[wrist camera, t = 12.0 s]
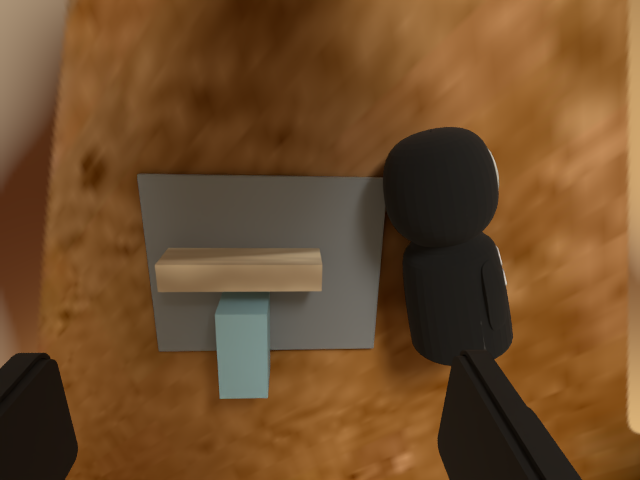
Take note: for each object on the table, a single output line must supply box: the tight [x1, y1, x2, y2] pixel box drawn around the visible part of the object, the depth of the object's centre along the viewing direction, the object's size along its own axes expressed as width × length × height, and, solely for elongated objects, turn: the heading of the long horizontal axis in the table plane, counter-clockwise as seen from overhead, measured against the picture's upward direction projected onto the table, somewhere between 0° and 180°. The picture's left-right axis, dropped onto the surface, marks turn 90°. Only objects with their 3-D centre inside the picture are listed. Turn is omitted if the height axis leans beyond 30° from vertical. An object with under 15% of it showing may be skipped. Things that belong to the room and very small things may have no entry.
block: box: [215, 292, 270, 399], centre depth 39 cm, size 4×4×9 cm
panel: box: [137, 174, 385, 351], centre depth 40 cm, size 18×22×1 cm
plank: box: [155, 248, 322, 292], centre depth 37 cm, size 2×14×4 cm, turn 88°
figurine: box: [383, 127, 513, 366], centre depth 36 cm, size 9×9×20 cm
